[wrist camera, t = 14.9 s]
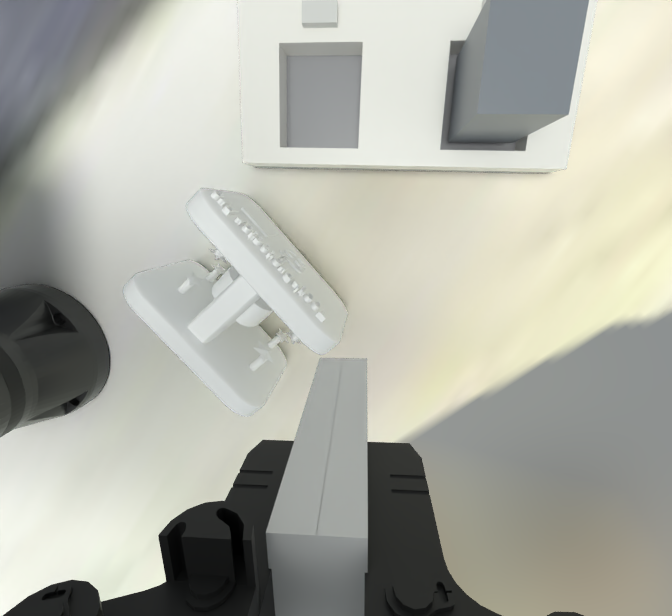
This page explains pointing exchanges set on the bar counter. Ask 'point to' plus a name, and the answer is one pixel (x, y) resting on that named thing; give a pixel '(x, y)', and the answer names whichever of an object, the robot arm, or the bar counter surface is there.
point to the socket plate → (372, 88)
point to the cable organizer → (237, 302)
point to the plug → (516, 69)
